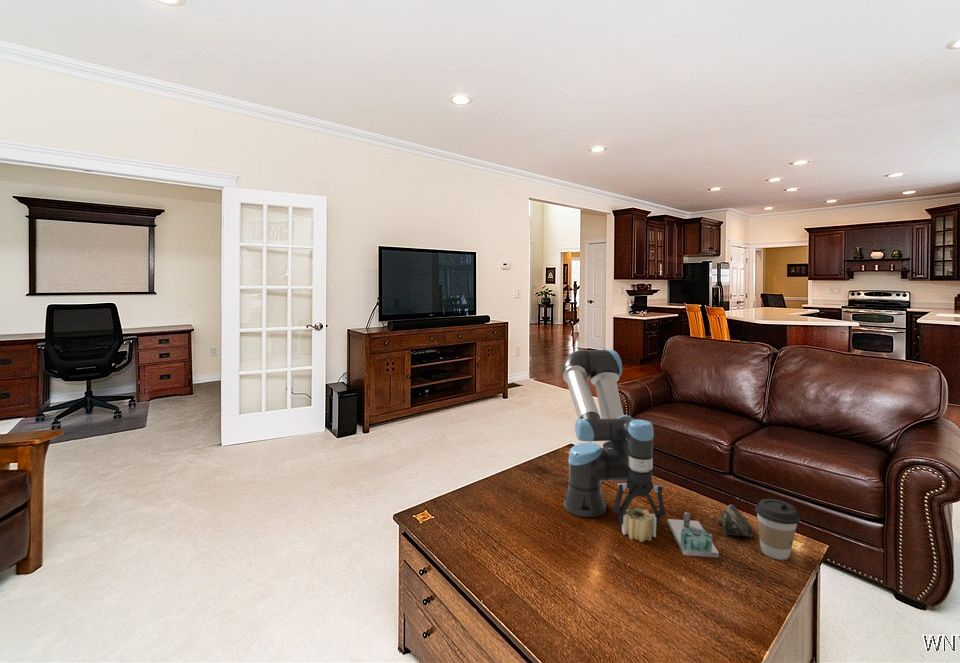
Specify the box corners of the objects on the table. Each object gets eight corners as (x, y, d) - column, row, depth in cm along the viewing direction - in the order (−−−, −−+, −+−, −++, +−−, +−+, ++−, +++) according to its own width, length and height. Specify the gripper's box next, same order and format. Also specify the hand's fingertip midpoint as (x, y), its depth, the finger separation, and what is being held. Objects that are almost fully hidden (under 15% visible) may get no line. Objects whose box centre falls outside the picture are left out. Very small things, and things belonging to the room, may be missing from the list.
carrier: (683, 555, 132) (684, 535, 131) (667, 523, 150) (667, 505, 149) (718, 557, 131) (719, 537, 130) (698, 525, 148) (698, 507, 148)
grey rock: (761, 541, 137) (746, 514, 137) (732, 551, 140) (718, 524, 139) (748, 522, 148) (734, 496, 148) (721, 531, 150) (708, 506, 150)
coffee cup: (799, 569, 125) (802, 519, 123) (753, 556, 131) (755, 509, 129) (796, 548, 134) (798, 502, 133) (752, 537, 140) (755, 493, 139)
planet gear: (619, 532, 144) (619, 512, 144) (635, 524, 150) (635, 504, 149) (642, 545, 137) (642, 524, 137) (658, 535, 142) (658, 515, 142)
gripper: (607, 471, 139) (606, 537, 141) (678, 474, 136) (676, 542, 138) (604, 462, 146) (603, 525, 149) (671, 464, 143) (669, 529, 145)
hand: (638, 533), depth 143 cm, fingers closed on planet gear, 9 cm apart
